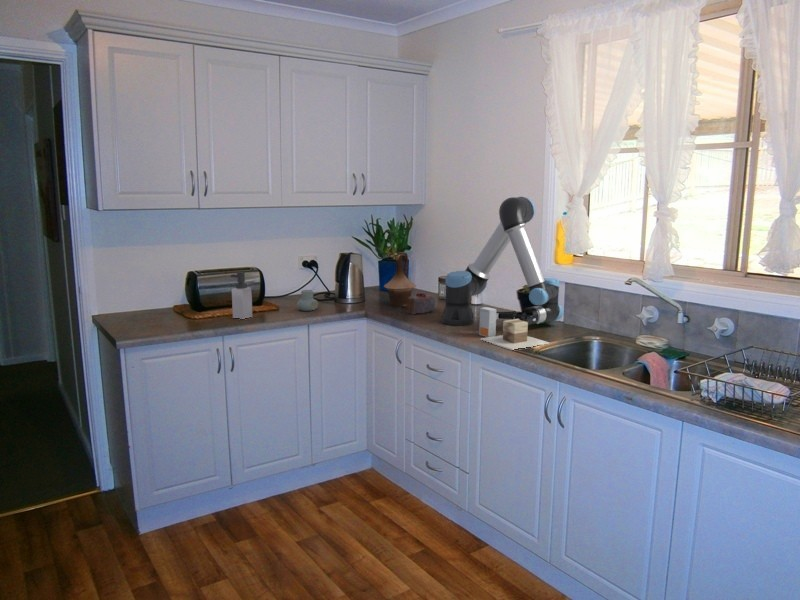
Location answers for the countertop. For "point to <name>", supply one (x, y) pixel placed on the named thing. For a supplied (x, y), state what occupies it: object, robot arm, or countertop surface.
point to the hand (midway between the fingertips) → (496, 320)
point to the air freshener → (307, 301)
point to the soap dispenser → (241, 298)
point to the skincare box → (487, 322)
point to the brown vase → (400, 282)
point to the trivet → (511, 346)
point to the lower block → (515, 337)
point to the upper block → (515, 326)
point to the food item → (420, 303)
